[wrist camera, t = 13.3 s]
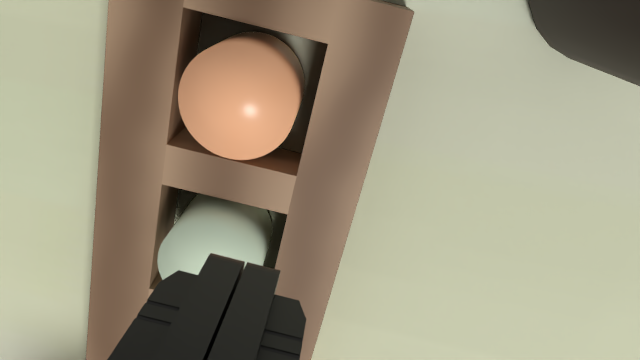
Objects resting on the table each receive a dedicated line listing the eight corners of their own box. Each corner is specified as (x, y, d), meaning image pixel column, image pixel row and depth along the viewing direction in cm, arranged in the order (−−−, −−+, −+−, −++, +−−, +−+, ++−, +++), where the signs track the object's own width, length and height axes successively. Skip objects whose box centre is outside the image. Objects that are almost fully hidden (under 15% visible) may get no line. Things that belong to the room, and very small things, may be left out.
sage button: (280, 198, 26) (268, 235, 22) (263, 273, 28) (249, 319, 24) (190, 176, 26) (163, 210, 22) (179, 253, 28) (152, 296, 24)
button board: (406, 7, 22) (414, 11, 19) (287, 417, 32) (281, 458, 30) (143, -61, 22) (112, -66, 19) (105, 376, 32) (82, 414, 29)
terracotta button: (315, 46, 23) (307, 60, 19) (293, 142, 25) (282, 171, 21) (212, 20, 23) (186, 29, 19) (198, 118, 25) (171, 144, 21)
